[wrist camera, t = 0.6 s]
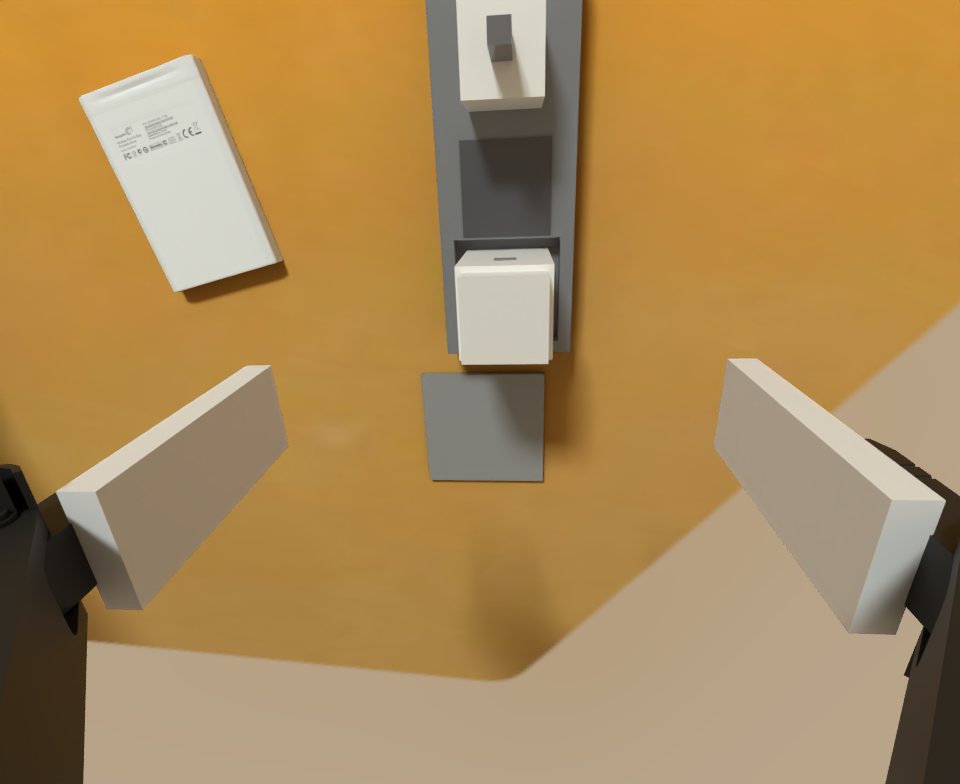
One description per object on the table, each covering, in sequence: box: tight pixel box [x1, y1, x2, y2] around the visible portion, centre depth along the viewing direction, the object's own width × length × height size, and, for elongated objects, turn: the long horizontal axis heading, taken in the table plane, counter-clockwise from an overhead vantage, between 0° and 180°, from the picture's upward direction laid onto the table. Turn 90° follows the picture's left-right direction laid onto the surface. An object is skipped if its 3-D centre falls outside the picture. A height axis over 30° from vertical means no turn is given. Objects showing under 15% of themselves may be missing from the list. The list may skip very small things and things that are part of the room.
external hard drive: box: [79, 55, 283, 293], centre depth 33 cm, size 2×8×12 cm
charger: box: [454, 247, 555, 365], centre depth 28 cm, size 5×5×8 cm
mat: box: [421, 372, 544, 481], centre depth 38 cm, size 9×9×1 cm
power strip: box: [426, 0, 582, 354], centre depth 25 cm, size 30×8×10 cm, turn 2°
